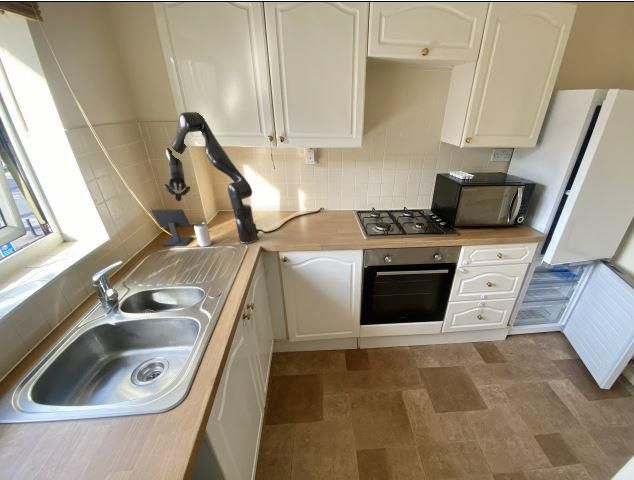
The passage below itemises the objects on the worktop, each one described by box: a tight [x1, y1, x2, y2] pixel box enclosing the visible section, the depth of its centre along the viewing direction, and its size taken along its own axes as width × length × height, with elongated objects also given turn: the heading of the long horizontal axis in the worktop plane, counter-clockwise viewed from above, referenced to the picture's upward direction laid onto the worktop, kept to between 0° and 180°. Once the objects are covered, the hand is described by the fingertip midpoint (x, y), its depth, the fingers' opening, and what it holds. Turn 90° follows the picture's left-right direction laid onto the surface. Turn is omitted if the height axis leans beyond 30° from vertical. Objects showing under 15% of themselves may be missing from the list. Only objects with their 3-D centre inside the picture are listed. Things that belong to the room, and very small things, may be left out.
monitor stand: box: [162, 222, 194, 247], centre depth 156 cm, size 10×12×12 cm
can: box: [193, 221, 212, 248], centre depth 154 cm, size 6×6×12 cm
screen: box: [150, 208, 191, 228], centre depth 152 cm, size 1×16×11 cm, turn 92°
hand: (178, 200), depth 154 cm, fingers closed
